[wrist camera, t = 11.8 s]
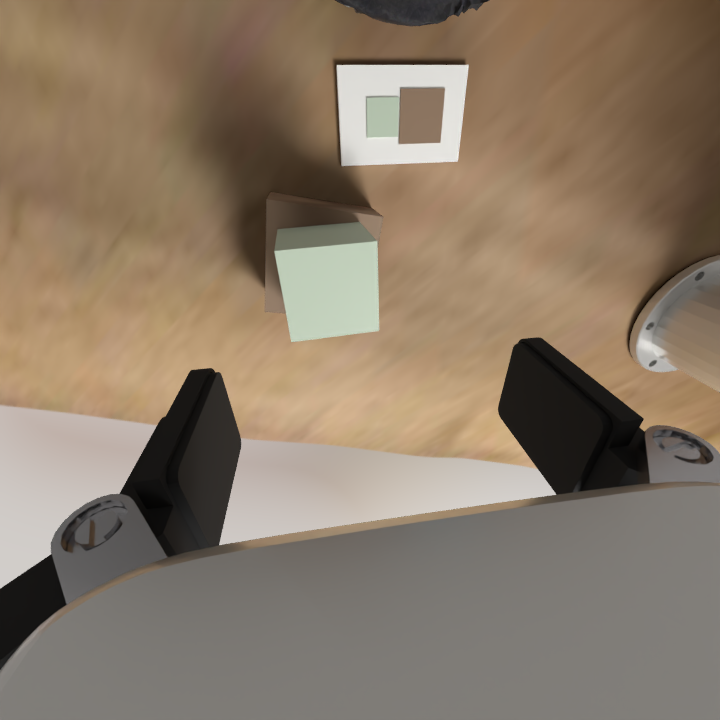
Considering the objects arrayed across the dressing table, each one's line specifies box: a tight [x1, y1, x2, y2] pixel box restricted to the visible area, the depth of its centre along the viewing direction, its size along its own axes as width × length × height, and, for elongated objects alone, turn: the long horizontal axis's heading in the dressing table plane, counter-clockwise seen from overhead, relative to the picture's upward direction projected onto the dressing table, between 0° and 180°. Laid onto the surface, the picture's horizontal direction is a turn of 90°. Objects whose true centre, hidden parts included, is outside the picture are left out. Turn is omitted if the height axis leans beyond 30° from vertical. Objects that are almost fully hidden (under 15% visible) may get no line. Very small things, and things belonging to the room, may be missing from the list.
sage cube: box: [274, 222, 379, 342], centre depth 19 cm, size 5×5×5 cm
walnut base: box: [265, 192, 383, 313], centre depth 23 cm, size 7×7×4 cm
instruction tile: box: [336, 65, 469, 166], centre depth 21 cm, size 8×5×1 cm, turn 92°
